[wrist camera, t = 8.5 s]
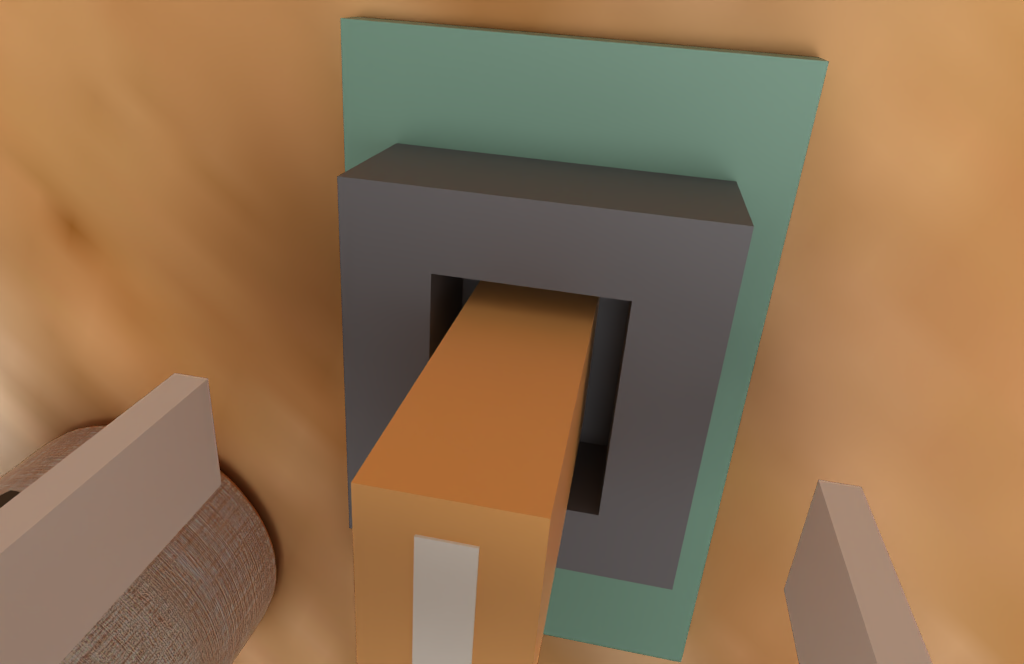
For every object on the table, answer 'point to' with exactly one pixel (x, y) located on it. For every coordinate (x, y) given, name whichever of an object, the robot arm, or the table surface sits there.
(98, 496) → the robot arm
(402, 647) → the plug
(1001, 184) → the table surface
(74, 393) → the table surface
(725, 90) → the board
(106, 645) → the planter
